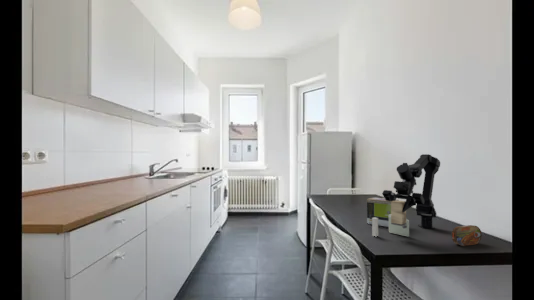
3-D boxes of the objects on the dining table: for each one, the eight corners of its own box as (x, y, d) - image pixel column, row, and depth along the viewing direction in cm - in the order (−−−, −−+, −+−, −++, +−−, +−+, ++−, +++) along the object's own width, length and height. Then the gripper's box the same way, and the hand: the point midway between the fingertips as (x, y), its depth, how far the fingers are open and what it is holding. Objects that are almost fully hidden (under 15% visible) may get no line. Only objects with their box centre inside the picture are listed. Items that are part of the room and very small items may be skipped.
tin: (456, 246, 133) (456, 227, 133) (450, 244, 136) (450, 225, 136) (482, 244, 137) (482, 225, 138) (475, 242, 140) (475, 223, 141)
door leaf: (387, 232, 155) (387, 217, 155) (390, 232, 157) (390, 216, 157) (406, 237, 147) (406, 220, 147) (409, 236, 149) (408, 219, 149)
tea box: (399, 225, 173) (399, 199, 173) (392, 228, 166) (392, 201, 166) (374, 221, 184) (374, 196, 184) (366, 223, 177) (366, 198, 177)
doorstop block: (395, 222, 149) (395, 200, 149) (406, 224, 146) (406, 201, 146) (391, 224, 146) (391, 201, 146) (401, 226, 142) (401, 202, 142)
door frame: (397, 229, 163) (397, 212, 163) (400, 230, 161) (400, 213, 161) (372, 236, 150) (372, 217, 150) (375, 237, 148) (375, 218, 148)
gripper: (383, 174, 156) (373, 198, 148) (421, 176, 142) (412, 202, 134) (391, 188, 161) (381, 212, 153) (428, 191, 147) (419, 217, 139)
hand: (397, 210), depth 145 cm, fingers closed on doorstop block, 5 cm apart
